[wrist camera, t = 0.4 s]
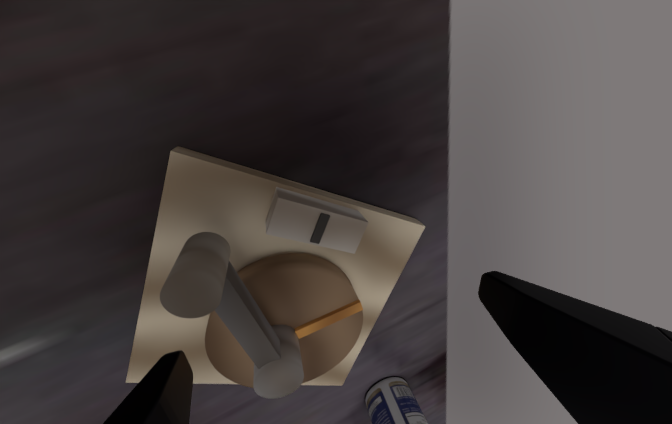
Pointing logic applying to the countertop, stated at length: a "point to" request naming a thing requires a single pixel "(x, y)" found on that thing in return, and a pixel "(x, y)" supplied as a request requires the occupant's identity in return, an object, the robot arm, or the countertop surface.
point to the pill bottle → (393, 403)
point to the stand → (263, 249)
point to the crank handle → (265, 313)
